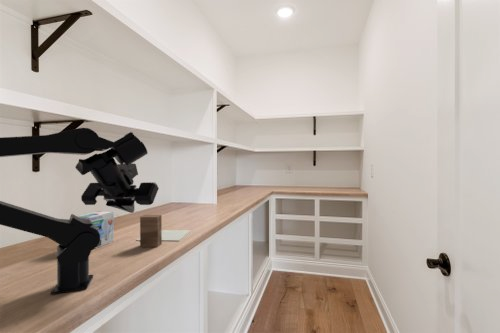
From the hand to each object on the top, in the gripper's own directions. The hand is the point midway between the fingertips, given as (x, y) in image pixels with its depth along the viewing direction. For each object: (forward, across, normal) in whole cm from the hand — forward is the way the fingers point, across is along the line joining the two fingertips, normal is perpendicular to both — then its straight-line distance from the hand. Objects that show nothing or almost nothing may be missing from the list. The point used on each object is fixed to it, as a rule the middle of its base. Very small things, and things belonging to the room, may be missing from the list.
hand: (132, 211), depth 71 cm
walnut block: (+18, 0, +1) cm, 18 cm away
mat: (+26, 0, -7) cm, 27 cm away
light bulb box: (+18, +20, +2) cm, 27 cm away
